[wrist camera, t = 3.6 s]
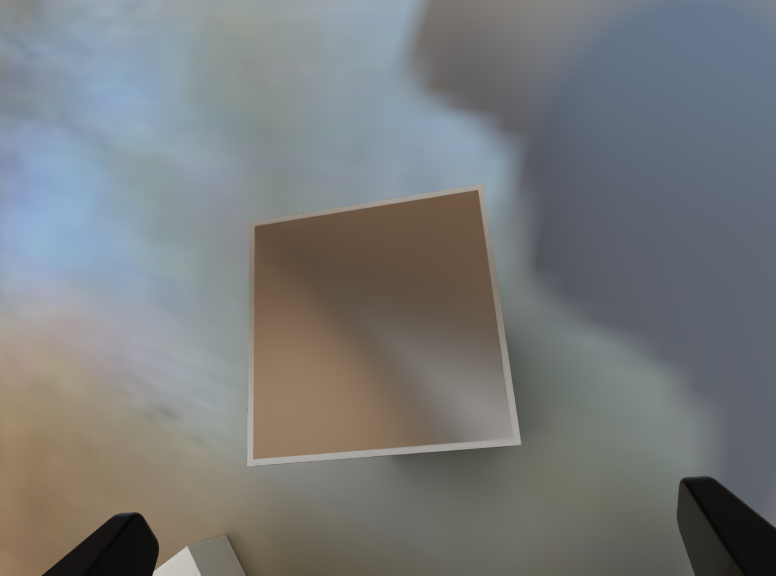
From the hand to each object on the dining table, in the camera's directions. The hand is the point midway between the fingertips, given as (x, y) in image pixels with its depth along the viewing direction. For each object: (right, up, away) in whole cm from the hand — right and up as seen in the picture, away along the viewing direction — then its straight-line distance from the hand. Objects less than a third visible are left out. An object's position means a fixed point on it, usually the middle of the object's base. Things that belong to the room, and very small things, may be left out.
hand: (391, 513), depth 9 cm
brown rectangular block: (+2, 0, +11) cm, 11 cm away
